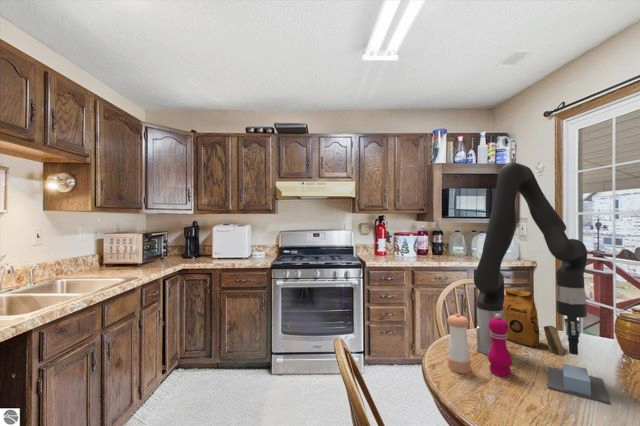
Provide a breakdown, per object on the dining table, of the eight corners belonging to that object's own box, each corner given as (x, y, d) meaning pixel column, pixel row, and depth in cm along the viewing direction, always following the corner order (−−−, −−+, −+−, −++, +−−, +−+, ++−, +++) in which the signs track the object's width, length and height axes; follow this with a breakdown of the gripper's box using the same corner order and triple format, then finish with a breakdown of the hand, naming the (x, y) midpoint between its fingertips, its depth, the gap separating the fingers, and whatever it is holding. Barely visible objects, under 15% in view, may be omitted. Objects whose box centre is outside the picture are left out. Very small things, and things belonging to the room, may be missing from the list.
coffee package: (531, 349, 121) (529, 294, 122) (500, 339, 132) (498, 289, 133) (544, 344, 126) (542, 291, 127) (513, 335, 137) (511, 286, 138)
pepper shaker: (470, 365, 108) (468, 312, 109) (471, 375, 102) (469, 318, 102) (448, 362, 111) (447, 310, 112) (447, 370, 105) (446, 315, 105)
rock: (549, 336, 128) (532, 336, 125) (563, 324, 124) (545, 323, 121) (571, 361, 119) (552, 361, 117) (586, 348, 115) (568, 348, 112)
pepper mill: (509, 369, 105) (507, 311, 106) (515, 379, 98) (512, 317, 99) (486, 366, 108) (484, 310, 108) (490, 375, 101) (488, 315, 102)
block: (563, 375, 99) (564, 389, 91) (562, 363, 99) (563, 375, 91) (587, 381, 95) (591, 395, 87) (586, 368, 95) (590, 381, 87)
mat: (547, 388, 93) (547, 386, 93) (547, 368, 105) (547, 366, 105) (609, 404, 84) (609, 402, 84) (602, 380, 97) (602, 378, 97)
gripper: (556, 294, 106) (558, 344, 105) (556, 302, 95) (559, 358, 95) (584, 297, 101) (587, 349, 100) (588, 306, 91) (591, 364, 90)
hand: (573, 353), depth 98 cm, fingers closed
